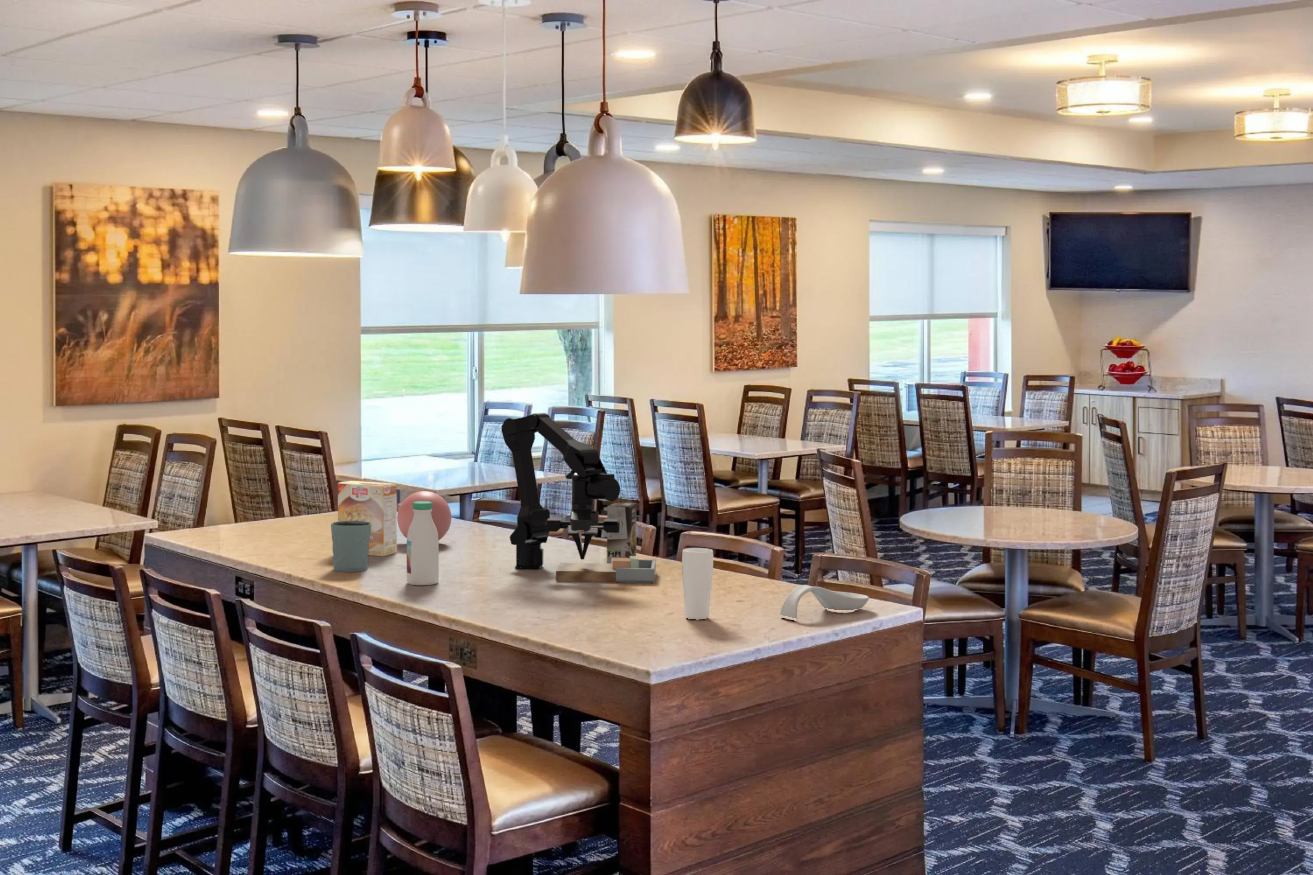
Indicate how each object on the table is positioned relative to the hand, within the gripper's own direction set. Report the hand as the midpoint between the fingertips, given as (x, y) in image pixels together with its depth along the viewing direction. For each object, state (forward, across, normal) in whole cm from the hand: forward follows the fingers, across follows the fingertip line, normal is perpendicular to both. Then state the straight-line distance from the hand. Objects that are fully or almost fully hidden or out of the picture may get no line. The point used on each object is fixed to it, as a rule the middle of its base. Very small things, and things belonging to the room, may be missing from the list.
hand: (582, 559), depth 352 cm
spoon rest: (+5, +57, -41) cm, 70 cm away
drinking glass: (+4, +29, -48) cm, 56 cm away
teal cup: (+5, -60, +6) cm, 61 cm away
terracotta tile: (+2, +10, +1) cm, 10 cm away
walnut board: (+4, +1, 0) cm, 5 cm away
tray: (+4, +14, 0) cm, 14 cm away
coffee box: (+5, +9, +20) cm, 22 cm away
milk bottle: (+5, -38, -12) cm, 40 cm away
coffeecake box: (+5, -62, +32) cm, 70 cm away
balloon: (+5, -51, +50) cm, 72 cm away
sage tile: (+2, +12, 0) cm, 12 cm away
